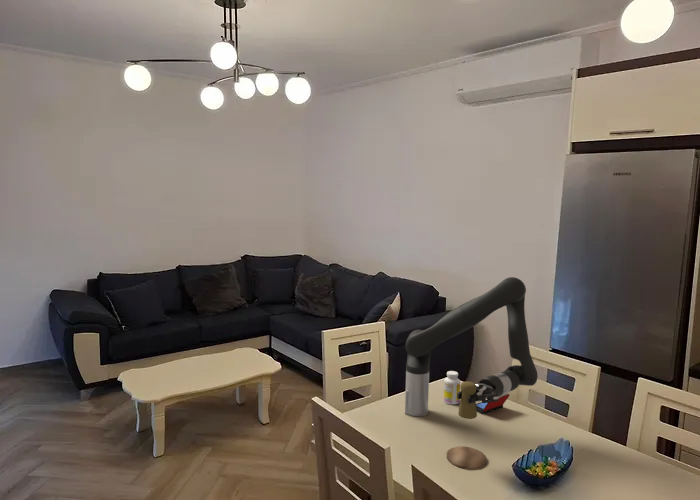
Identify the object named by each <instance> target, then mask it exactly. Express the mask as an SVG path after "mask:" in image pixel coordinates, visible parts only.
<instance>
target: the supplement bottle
mask: <svg viewBox="0 0 700 500" xmlns="http://www.w3.org/2000/svg"><path fill="white" fill-rule="evenodd" d="M446 376H447V377H445V378H444V381H443V402H444V403H446V404H447V405H458V404H460V401H461V399H457V393H458V392H460V391H461V389H460V386H461V380H460V379H459V378H458V376H459V373H458V372H457V371H454V370H449V371H447V372H446Z"/></svg>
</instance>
